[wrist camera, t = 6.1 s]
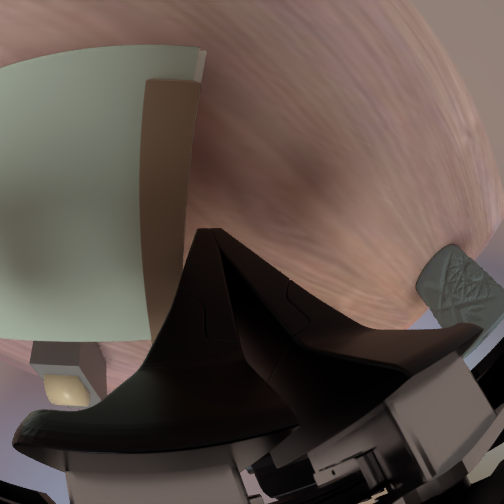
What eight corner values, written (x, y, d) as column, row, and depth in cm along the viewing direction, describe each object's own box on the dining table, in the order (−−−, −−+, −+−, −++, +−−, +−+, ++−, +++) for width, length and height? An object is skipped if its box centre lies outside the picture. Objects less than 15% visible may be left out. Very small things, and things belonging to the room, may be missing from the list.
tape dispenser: (106, 362, 22) (109, 425, 17) (70, 362, 21) (68, 423, 16) (84, 308, 18) (77, 387, 13) (40, 309, 16) (26, 383, 11)
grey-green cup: (453, 228, 26) (518, 294, 17) (464, 253, 32) (514, 307, 23) (401, 289, 30) (457, 363, 21) (423, 302, 36) (466, 359, 27)
